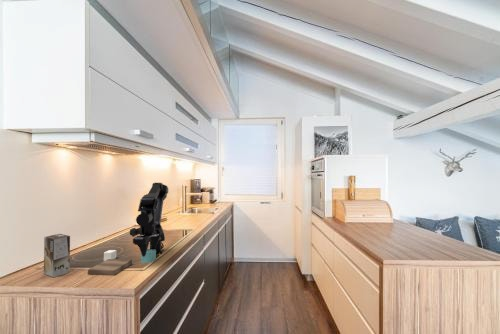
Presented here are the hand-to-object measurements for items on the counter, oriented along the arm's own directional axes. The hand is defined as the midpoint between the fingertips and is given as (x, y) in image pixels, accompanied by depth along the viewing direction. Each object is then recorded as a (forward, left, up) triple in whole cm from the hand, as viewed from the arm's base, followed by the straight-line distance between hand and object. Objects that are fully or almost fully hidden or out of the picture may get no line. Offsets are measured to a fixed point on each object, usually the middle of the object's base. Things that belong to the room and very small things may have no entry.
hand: (148, 253), depth 118 cm
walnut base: (+11, -12, -4) cm, 17 cm away
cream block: (-1, -21, -4) cm, 21 cm away
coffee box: (+17, -33, -4) cm, 37 cm away
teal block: (0, 0, -4) cm, 4 cm away
